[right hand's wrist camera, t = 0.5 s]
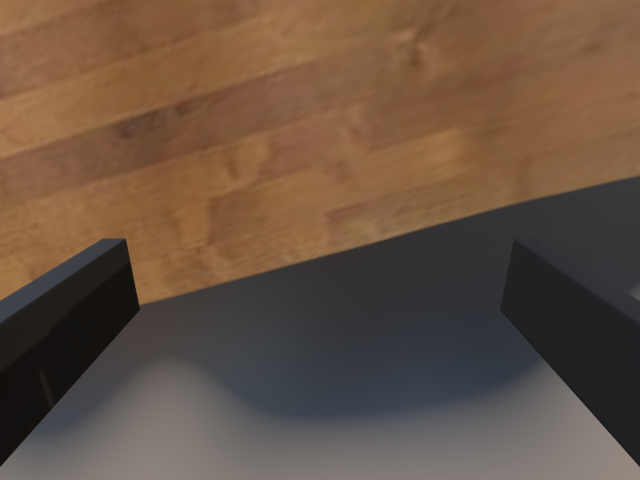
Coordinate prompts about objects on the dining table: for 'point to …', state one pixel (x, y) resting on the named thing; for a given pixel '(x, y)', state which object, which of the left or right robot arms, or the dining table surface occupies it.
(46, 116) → the dining table surface
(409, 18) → the dining table surface
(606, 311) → the right robot arm
